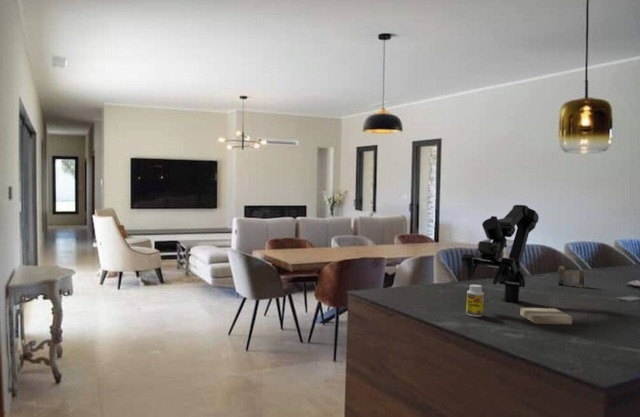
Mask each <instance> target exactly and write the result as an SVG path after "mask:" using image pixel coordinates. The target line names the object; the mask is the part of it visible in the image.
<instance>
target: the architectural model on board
mask: <svg viewBox="0 0 640 417" xmlns="http://www.w3.org/2000/svg"><path fill="white" fill-rule="evenodd" d="M559 284H563V285H567V286H566V287H572V286H576V287H575V288H582V287H584V289H585V288H586V271H585V270H573V269H565V265H564V266H562V265H559V266H558V271H557V285H559ZM563 285H562V286H563Z"/></svg>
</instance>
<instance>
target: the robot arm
mask: <svg viewBox="0 0 640 417" xmlns="http://www.w3.org/2000/svg"><path fill="white" fill-rule="evenodd" d="M539 218H540V217H539V214H538V213H537V211H536V210H534V209H532V208H530V207H528V205H525V204H514V205H513V206H512V208H511V210H510V211H509V212H508V213H507V214H506V215H505V216H504V218H498V216H494V215H493V216H490V218H488V219H485V220H484V221H483V222H482V224H481V226H482V228H483V231H484V235H485V236H486V239H488V240H489V241H479V242H478V244H477V245H478V246H477V250H476V251H478V252H479V256H480V257H481V258H479V257H477V258H476V256H475V254H474V253H467V252H466V253H463V254H461V258H460V259H461V262H462V263H463V267H464V268H466V269H467V281H468V282H470V281H471V279H472V278H473V276H474V275H475V272H476V271H477V270H476V269H477V266H478V265H479V266H480V265H482V266H486V267H493V268H498V270H497V271H496V274H495V275H494V279H493V282H492V284H493V285H496V284H498V283H499V285H504V288H503V296H502V297H500V299H501V300H502V301H504V302H506V303H523V300H521V299H520V296H521V295H520V292H521V291H520V290H521V289H520V288H525V287H526V282H527V280H526V278H525V275H524V270H523V267H522V265H521V264H522V259H523V256H524V252H525V249H526V246H527V242H528V239H529V234H530V233H531V232H532V231H533V230H534V229H535V228H536V226H537V223H538V222H539ZM514 234H515V235H514ZM513 235H514V238H513V242H512V246H511V250H510V251H509V255H508V257H503V252H504V249H505V248H507V247H508V243H507V242H508V241H507V240H508V239H507V238H512V237H513ZM500 259H501V260H500Z"/></svg>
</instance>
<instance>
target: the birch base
mask: <svg viewBox="0 0 640 417" xmlns="http://www.w3.org/2000/svg"><path fill="white" fill-rule="evenodd" d="M519 309H520V312H519V313H520V314H519V315H520V316H522V317H523V318H525V319H527V320H529V321H530V322H532V323H533V324H536V325H539V324H543V325H544V324H545V325H573V316H571V315H569V314H568V313H565V312H563V311H561V310H559V309H557V308H555V307H554V308H553V307H552V308H551V307H548V308H547V307H520V308H519Z"/></svg>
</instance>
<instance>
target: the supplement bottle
mask: <svg viewBox="0 0 640 417" xmlns="http://www.w3.org/2000/svg"><path fill="white" fill-rule="evenodd" d="M482 287H483V286H482V285H479V284H470V285H469V290H467V291H466V311H465V314H466V315H467V316H470V317H475V318H477V317H478V318H479V317H482V316H483V315H484V304H485V303H484V301H485V300H484V299H485V293H484V292H483V288H482Z"/></svg>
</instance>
